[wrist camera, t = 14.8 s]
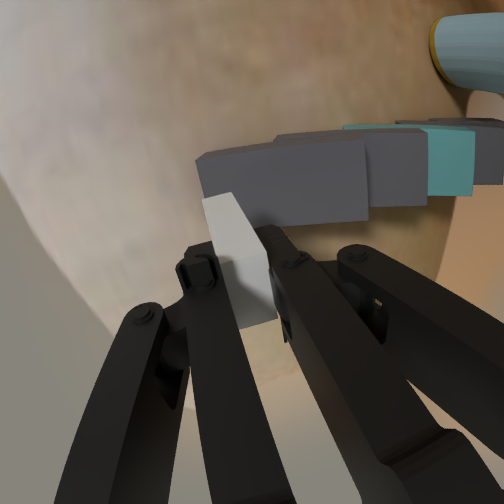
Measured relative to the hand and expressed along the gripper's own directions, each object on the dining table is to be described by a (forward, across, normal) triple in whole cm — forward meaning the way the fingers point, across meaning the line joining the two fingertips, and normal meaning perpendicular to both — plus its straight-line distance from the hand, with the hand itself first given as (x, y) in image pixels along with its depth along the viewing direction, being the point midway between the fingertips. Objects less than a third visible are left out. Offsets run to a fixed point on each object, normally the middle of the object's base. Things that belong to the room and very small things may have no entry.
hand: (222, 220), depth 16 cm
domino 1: (+6, 0, 0) cm, 6 cm away
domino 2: (+6, +5, 0) cm, 7 cm away
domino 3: (+6, +10, 0) cm, 11 cm away
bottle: (+7, +24, +9) cm, 26 cm away
